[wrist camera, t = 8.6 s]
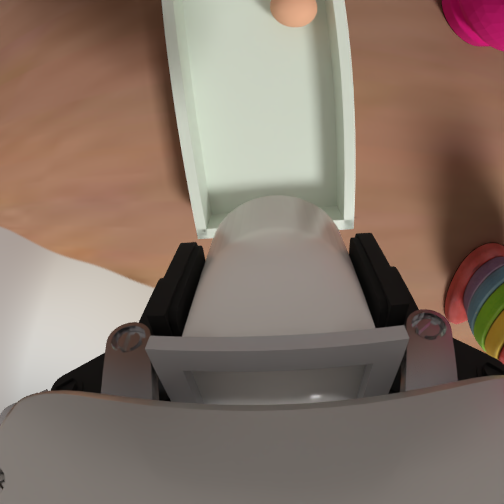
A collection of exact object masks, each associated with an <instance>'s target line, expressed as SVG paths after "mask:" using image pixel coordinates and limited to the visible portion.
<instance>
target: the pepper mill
mask: <svg viewBox="0 0 504 504" xmlns="http://www.w3.org/2000/svg"><path fill="white" fill-rule="evenodd" d="M442 8H443V12H444V15H445V17H446V20H447V21H448V23H449V25H450V27H451V28H452V29H453V31H454V32H455V33H456V34H457V35H458V36H459V37H460V38H461V39H463V40H464V41H465V42H467V43H469V44H471V45H474V46H491V47H493V48H495V49H497V50H501V51H504V0H442Z"/></svg>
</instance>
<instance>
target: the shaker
mask: <svg viewBox="0 0 504 504" xmlns="http://www.w3.org/2000/svg"><path fill="white" fill-rule="evenodd" d="M408 341H409V336H408V333H407V331H406V329H405V326H404V325H401V326H392V327H384V328H375V325H374V322H373V319H372V316H371V313H370V310H369V307H368V305H367V302H366V299H365V296H364V293H363V291H362V288H361V285H360V282H359V280H358V277H357V274H356V272H355V269H354V267H353V264H352V261H351V259H350V256H349V254H348V251H347V249H346V246H345V244H344V241H343V239H342V236H341V234H340V232H339V230H338V228H337V226H336V224H335V223H334V221H333V220H332V219H331V218H330V217H329V216H328V215H327V214H326V213H325V212H324V211H323V210H322V209H320V208H319V207H317V206H316V205H314V204H312V203H310V202H308V201H306V200H303V199H300V198H296V197H292V196H284V195H272V196H264V197H260V198H256V199H253V200H251V201H248V202H246V203H244V204H242V205H240V206H238V207H237V208H236V209H234V210H233V211H232V212H230V213H229V214H228V215H227V216H226V217H225V218H224V219H223V221H222V222H221V223H220V225H219V226H218V228H217V230H216V232H215V235H214V237H213V240H212V243H211V246H210V249H209V252H208V255H207V258H206V261H205V264H204V267H203V270H202V273H201V277H200V280H199V283H198V286H197V289H196V292H195V295H194V299H193V302H192V305H191V308H190V311H189V315H188V318H187V321H186V324H185V328H184V331H183V334H182V337H174V336H150V337H149V340H148V342H147V345H146V347H145V350H146V352H147V354H148V357H149V359H150V361H151V363H152V365H153V367H154V369H155V371H156V373H157V375H158V377H159V379H160V381H161V383H162V385H163V387H164V389H165V390H166V392H167V394H168V396H169V398H170V400H171V402H182V403H198V404H224V405H275V404H299V403H315V402H327V401H338V400H348V399H357V398H365V397H373V396H380V395H387V394H388V393H389V391H390V388H391V386H392V384H393V381H394V379H395V376H396V374H397V371H398V369H399V366H400V363H401V361H402V358H403V355H404V353H405V350H406V347H407V344H408Z"/></svg>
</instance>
